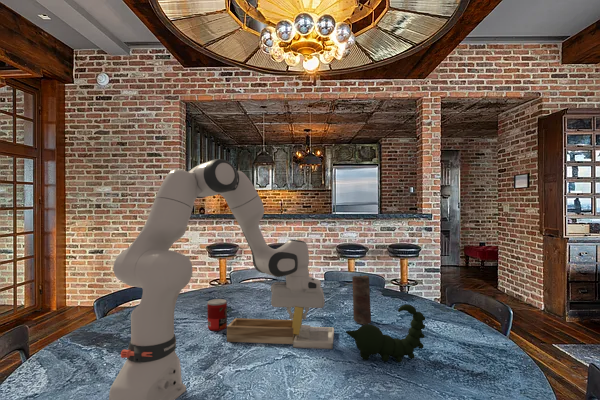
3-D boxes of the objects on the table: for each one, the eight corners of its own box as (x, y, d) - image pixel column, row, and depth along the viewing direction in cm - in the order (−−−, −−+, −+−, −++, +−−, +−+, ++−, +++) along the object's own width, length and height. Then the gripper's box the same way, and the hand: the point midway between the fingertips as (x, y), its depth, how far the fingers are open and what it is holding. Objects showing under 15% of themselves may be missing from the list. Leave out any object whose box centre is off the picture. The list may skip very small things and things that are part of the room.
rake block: (298, 334, 131) (302, 308, 130) (291, 333, 131) (294, 306, 131) (300, 329, 136) (304, 304, 135) (292, 328, 136) (296, 303, 136)
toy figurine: (416, 357, 119) (342, 351, 120) (420, 302, 119) (346, 295, 120) (425, 371, 110) (345, 363, 111) (429, 310, 110) (349, 303, 111)
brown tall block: (350, 323, 149) (349, 276, 149) (356, 318, 155) (355, 273, 156) (368, 326, 145) (367, 277, 146) (373, 321, 152) (372, 274, 152)
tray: (332, 349, 123) (332, 343, 123) (293, 347, 125) (293, 341, 125) (334, 332, 139) (334, 327, 139) (299, 331, 141) (299, 326, 141)
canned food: (222, 331, 142) (222, 304, 142) (204, 330, 143) (203, 303, 144) (230, 325, 149) (229, 299, 149) (212, 324, 151) (212, 298, 151)
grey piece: (318, 340, 130) (318, 331, 130) (309, 340, 130) (309, 330, 130) (319, 337, 133) (319, 327, 133) (310, 336, 134) (310, 327, 134)
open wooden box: (293, 344, 128) (292, 329, 128) (226, 341, 131) (226, 326, 131) (296, 334, 138) (296, 319, 138) (235, 331, 141) (235, 318, 141)
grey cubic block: (308, 338, 131) (309, 328, 131) (299, 336, 131) (300, 327, 131) (309, 334, 134) (310, 325, 134) (300, 333, 135) (301, 324, 135)
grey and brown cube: (318, 340, 130) (328, 340, 130) (318, 330, 130) (328, 331, 130) (319, 336, 134) (328, 337, 133) (319, 327, 134) (328, 327, 133)
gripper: (269, 283, 131) (269, 320, 131) (323, 284, 129) (324, 322, 129) (272, 279, 138) (272, 315, 137) (324, 280, 135) (325, 316, 135)
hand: (298, 318), depth 133 cm, fingers closed on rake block, 3 cm apart
